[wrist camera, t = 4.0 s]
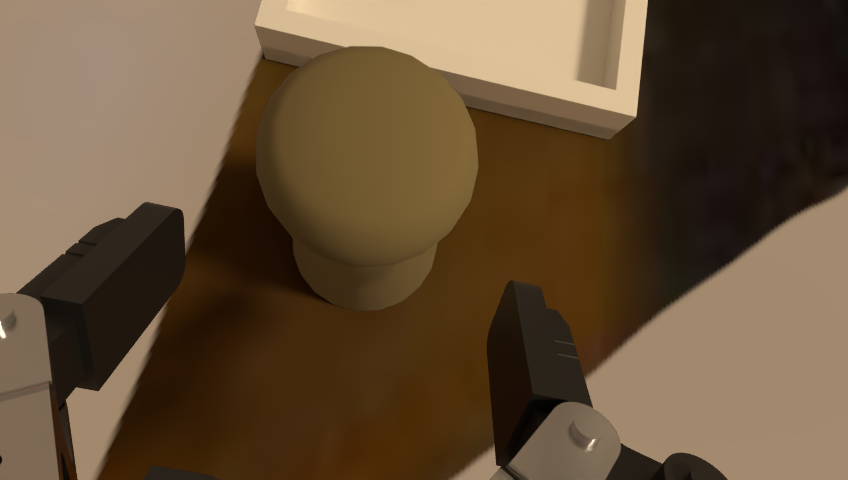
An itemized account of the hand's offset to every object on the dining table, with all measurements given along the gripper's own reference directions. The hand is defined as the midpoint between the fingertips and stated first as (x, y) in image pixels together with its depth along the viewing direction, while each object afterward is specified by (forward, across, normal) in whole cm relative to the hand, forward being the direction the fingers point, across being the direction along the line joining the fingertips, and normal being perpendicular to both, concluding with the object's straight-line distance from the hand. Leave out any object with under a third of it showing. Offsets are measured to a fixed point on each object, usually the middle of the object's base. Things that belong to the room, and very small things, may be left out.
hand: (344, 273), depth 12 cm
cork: (+8, 0, +4) cm, 9 cm away
